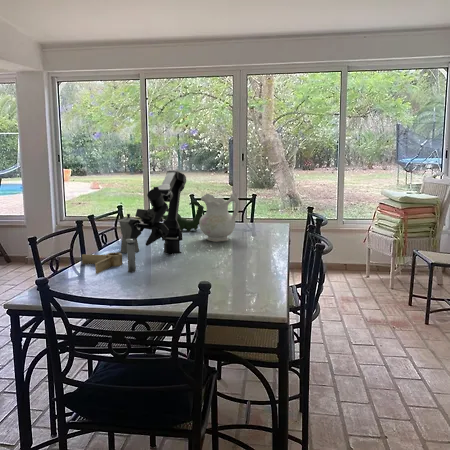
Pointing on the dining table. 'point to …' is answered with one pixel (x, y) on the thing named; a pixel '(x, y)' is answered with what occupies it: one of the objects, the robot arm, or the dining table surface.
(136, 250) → the coffeepot
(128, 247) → the hinge pin
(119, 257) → the hinge
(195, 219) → the toy figurine
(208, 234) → the ceramic pitcher
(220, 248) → the dining table surface
